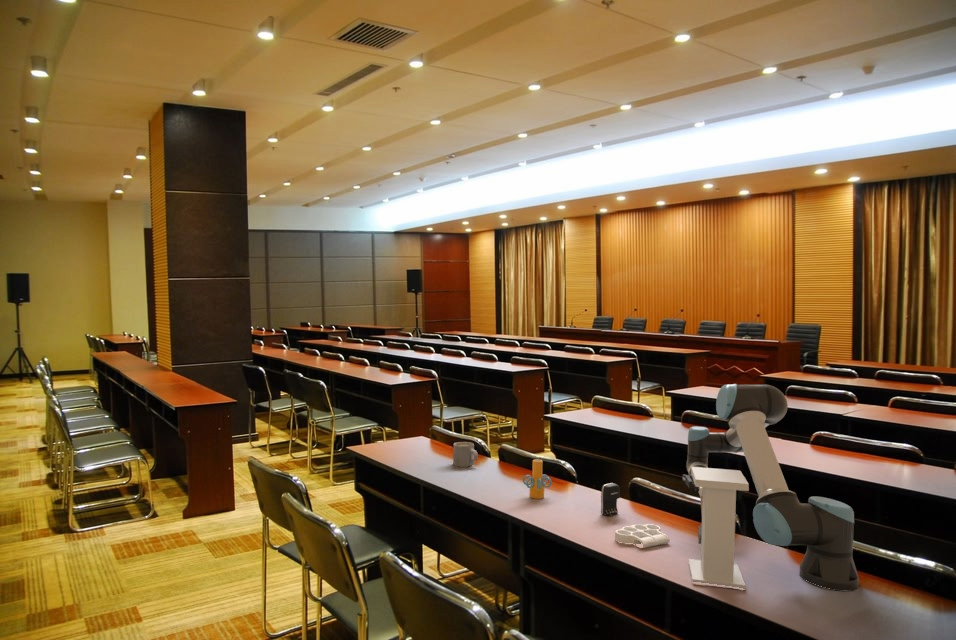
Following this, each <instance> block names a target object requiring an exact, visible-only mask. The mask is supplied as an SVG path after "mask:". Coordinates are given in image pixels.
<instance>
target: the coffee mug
mask: <svg viewBox="0 0 956 640" xmlns="http://www.w3.org/2000/svg"><path fill="white" fill-rule="evenodd" d="M477 451H478V450H475V444H474V443H473V442H469V441H458V442H454V443H453V453H452V455H453V456H452V458H453V459H452V463H453V466H454V465H455V466H454V467H457V466H460V468H469V467H468V466H471V467H473V466H474V464H475V463H476V462H477V461H478V455H479V454H478V452H477ZM472 465H473V466H472Z"/></svg>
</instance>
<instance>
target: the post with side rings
mask: <svg viewBox="0 0 956 640" xmlns="http://www.w3.org/2000/svg"><path fill="white" fill-rule="evenodd" d="M526 478H527V479H526ZM525 479H526V480H525ZM529 481H530V482H529ZM544 481H545V482H544ZM548 481H549V484H548V485H547V483H548ZM522 483H523V484H524V485H525V486H526V487H527V488H529V498H531V499H534V500H541V499H544V497H545V488H550V487H551V486H552V484H553V481H552V479H551V478H550V477H549V476H548V475H547V474H543V460H542V459H533V460H532V476H531V475H530V474H526V475H524V476H523V477H522Z"/></svg>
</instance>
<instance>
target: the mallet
mask: <svg viewBox="0 0 956 640" xmlns="http://www.w3.org/2000/svg"><path fill="white" fill-rule="evenodd" d="M702 488H703V487H702ZM699 497H700V498H699V499H700V509H701V513H702V504H703V491H702V496H700V495H699ZM697 529H698V530H697V538H698V539H697V542H698V544H700V545H701V537H702V524H701V525H698V528H697Z"/></svg>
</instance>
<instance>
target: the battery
mask: <svg viewBox="0 0 956 640" xmlns="http://www.w3.org/2000/svg"><path fill="white" fill-rule="evenodd" d="M620 488H621V487H620V486H619V485H618V484H616V483H613V482H610V483H606V484H603V485H602V486H601V491H600V492H601V495H600V503H601V506H600V514H601V515H603V516H606V517H610V516H614V515H618V513H619V512H618V503H617V502H618V499H621V489H620Z"/></svg>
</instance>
